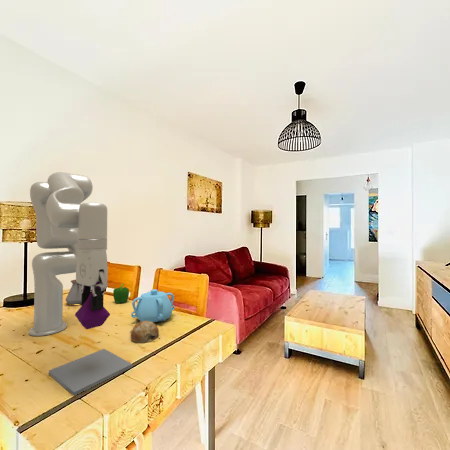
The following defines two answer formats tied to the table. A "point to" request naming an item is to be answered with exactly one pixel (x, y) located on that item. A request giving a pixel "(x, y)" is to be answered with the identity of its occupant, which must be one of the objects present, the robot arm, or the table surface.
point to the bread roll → (144, 332)
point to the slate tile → (89, 371)
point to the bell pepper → (121, 294)
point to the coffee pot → (74, 294)
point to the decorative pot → (153, 306)
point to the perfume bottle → (91, 314)
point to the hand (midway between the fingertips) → (92, 306)
